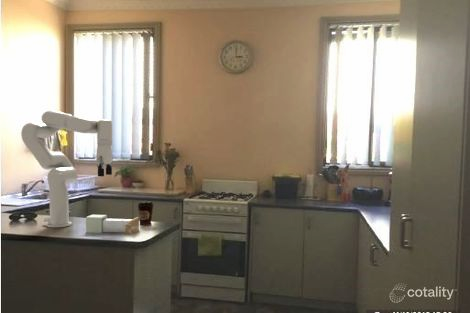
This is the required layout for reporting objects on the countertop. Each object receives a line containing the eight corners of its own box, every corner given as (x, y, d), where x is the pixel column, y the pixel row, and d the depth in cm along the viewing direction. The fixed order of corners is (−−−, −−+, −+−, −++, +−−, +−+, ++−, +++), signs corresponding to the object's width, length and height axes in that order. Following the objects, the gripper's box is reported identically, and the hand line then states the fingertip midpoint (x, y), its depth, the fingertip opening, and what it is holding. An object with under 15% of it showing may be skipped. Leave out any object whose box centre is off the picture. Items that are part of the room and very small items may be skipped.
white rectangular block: (99, 231, 215) (99, 220, 215) (103, 229, 219) (103, 218, 219) (131, 232, 213) (131, 220, 213) (134, 230, 217) (134, 219, 217)
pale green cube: (86, 232, 214) (86, 217, 214) (92, 229, 221) (92, 214, 221) (101, 232, 213) (101, 217, 213) (107, 229, 220) (106, 214, 220)
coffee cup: (149, 227, 228) (149, 203, 227) (135, 226, 229) (135, 202, 229) (155, 223, 236) (155, 200, 236) (141, 223, 238) (141, 200, 237)
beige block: (125, 234, 211) (125, 220, 211) (131, 230, 220) (131, 216, 220) (132, 234, 210) (132, 220, 210) (139, 230, 219) (138, 217, 219)
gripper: (104, 142, 230) (105, 174, 231) (90, 143, 213) (90, 176, 214) (118, 142, 229) (118, 174, 230) (104, 143, 212) (104, 177, 213)
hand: (105, 175), depth 222 cm, fingers open, 9 cm apart
